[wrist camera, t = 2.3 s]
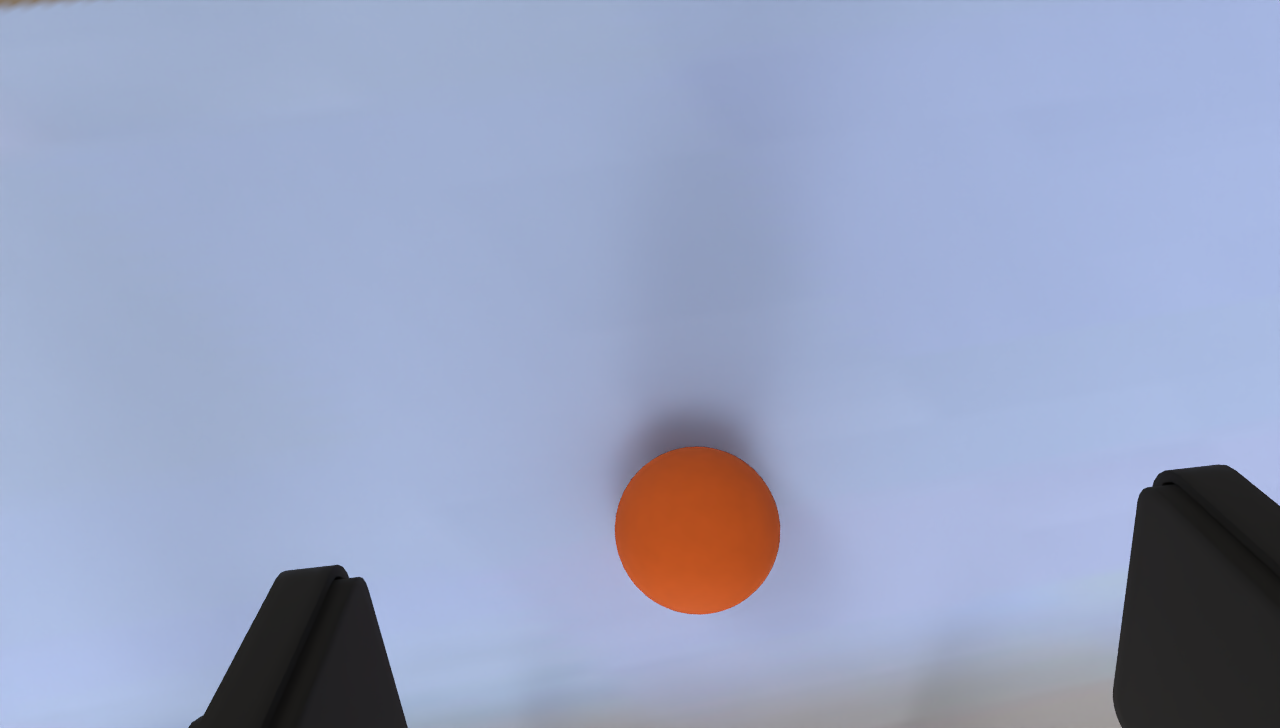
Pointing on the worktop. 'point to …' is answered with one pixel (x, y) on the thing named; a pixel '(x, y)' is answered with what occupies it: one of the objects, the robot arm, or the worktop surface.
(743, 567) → the ball
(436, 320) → the worktop surface
